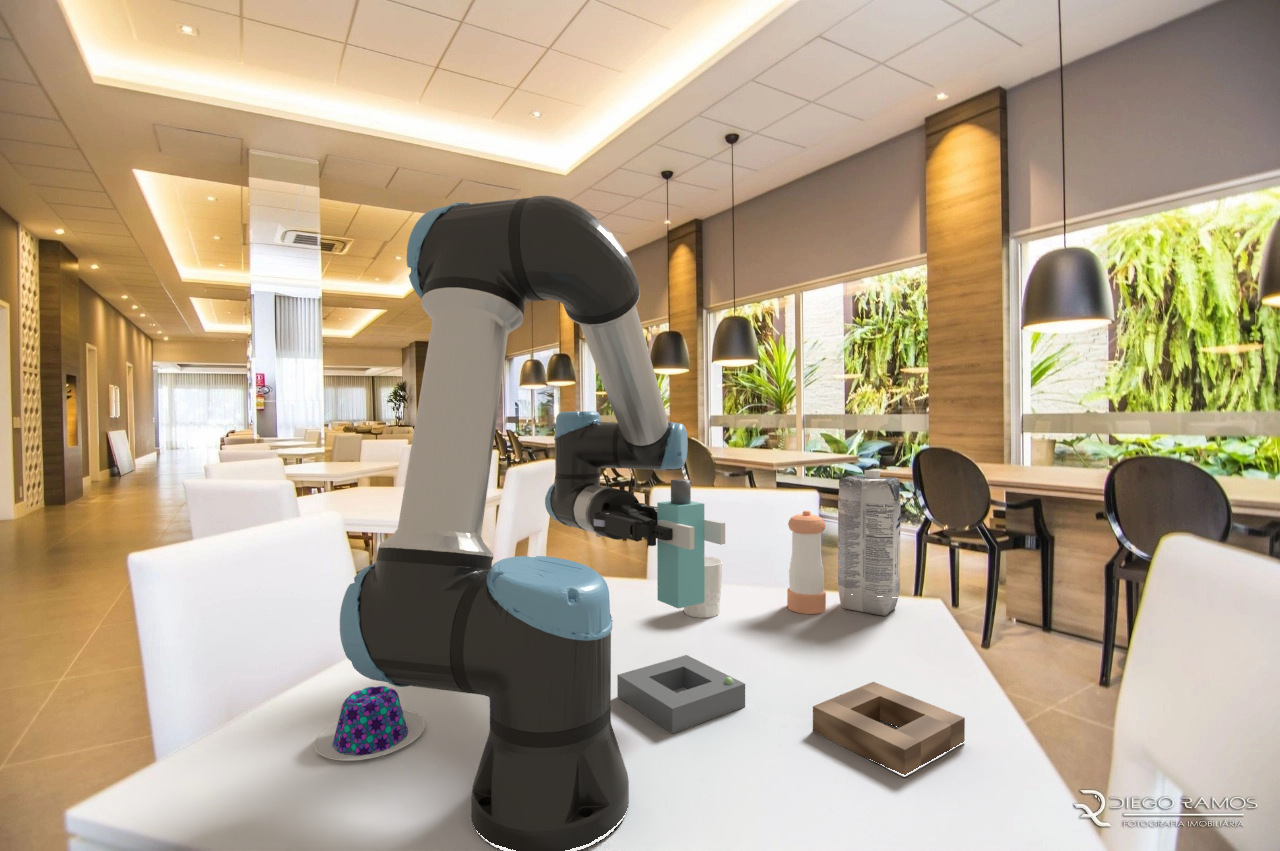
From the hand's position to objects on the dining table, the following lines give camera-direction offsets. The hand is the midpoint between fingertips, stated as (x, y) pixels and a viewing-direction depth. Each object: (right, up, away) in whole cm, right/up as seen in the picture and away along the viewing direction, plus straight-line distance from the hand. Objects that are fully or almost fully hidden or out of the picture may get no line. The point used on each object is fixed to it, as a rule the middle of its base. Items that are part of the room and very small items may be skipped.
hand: (707, 535), depth 78 cm
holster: (+21, -23, -4) cm, 31 cm away
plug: (-3, -9, +5) cm, 11 cm away
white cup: (+3, -22, +42) cm, 48 cm away
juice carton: (+36, -22, +45) cm, 62 cm away
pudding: (-40, -24, -4) cm, 47 cm away
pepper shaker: (+24, -22, +45) cm, 55 cm away
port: (-3, -23, +5) cm, 24 cm away
